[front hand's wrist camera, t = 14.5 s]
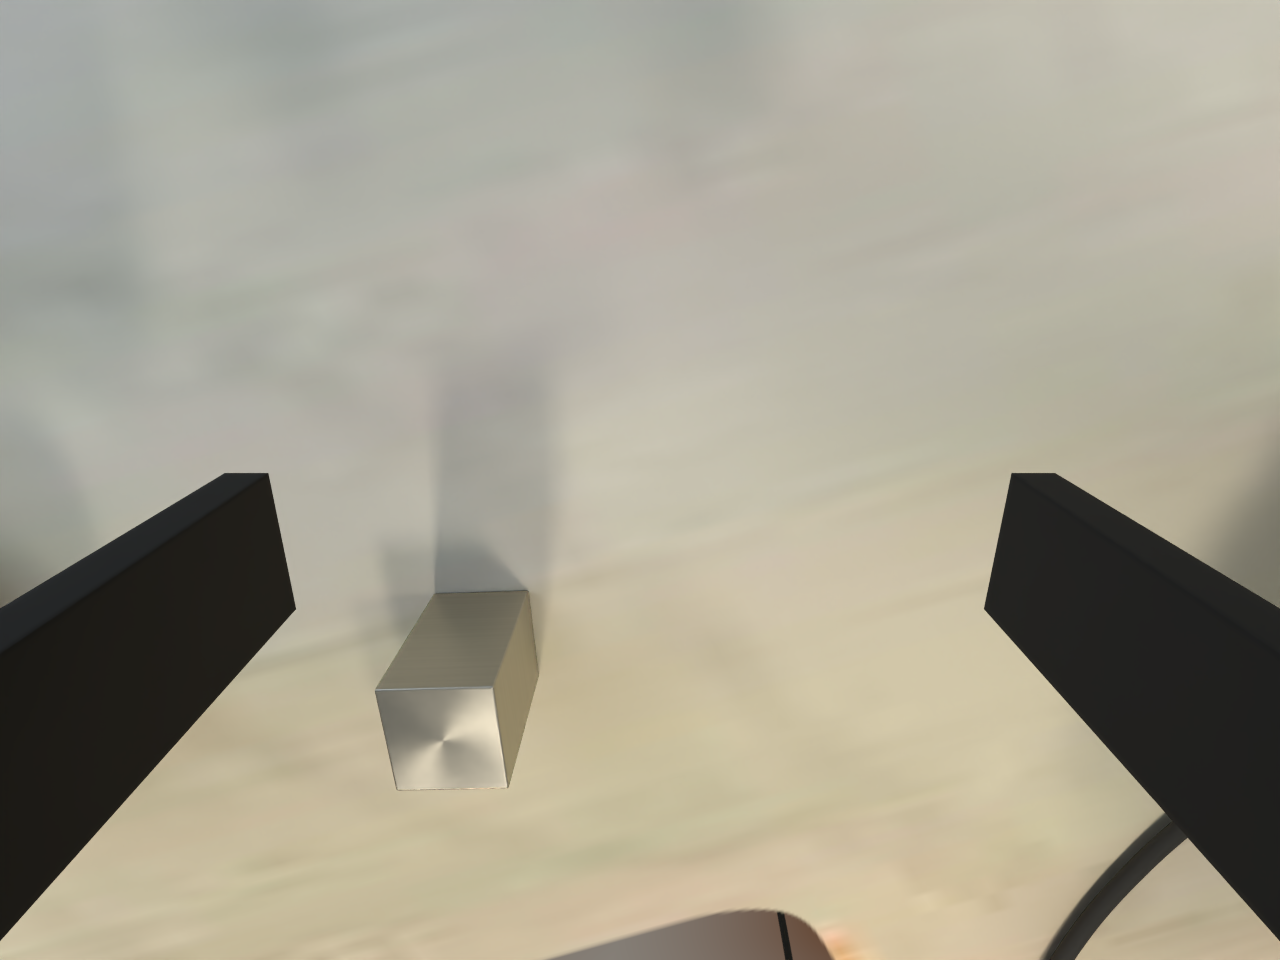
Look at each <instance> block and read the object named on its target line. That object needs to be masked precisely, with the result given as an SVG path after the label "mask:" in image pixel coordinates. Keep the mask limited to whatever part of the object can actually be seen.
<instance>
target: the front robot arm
mask: <svg viewBox="0 0 1280 960" xmlns="http://www.w3.org/2000/svg"><path fill="white" fill-rule="evenodd" d="M295 610H296V607H295V602H294V597H293V592H292V587H291V582H290V577H289V572H288V567H287V563H286V558H285V553H284V548H283V543H282V538H281V533H280V528H279V523H278V518H277V514H276V509H275V504H274V499H273V494H272V489H271V484H270V479H269V474H268V473H224V474H223V475H221V476H219V477H218V478H216V479H214V480H213V481H211V482H209V483H208V484H206V485H204V486H203V487H201V488H200V489H198V490H196V491H195V492H193V493H191V494H190V495H188V496H186V497H185V498H183V499H181V500H180V501H178V502H176V503H175V504H173V505H171V506H170V507H168V508H166V509H165V510H163V511H161V512H160V513H158V514H156V515H155V516H153V517H151V518H150V519H148V520H146V521H145V522H143V523H141V524H140V525H138V526H136V527H135V528H133V529H132V530H130V531H128V532H127V533H125V534H123V535H122V536H120V537H118V538H117V539H115V540H113V541H112V542H110V543H108V544H107V545H105V546H103V547H102V548H100V549H98V550H97V551H95V552H93V553H92V554H90V555H88V556H87V557H85V558H83V559H82V560H80V561H78V562H77V563H75V564H73V565H72V566H70V567H68V568H67V569H65V570H64V571H62V572H60V573H59V574H57V575H55V576H54V577H52V578H50V579H49V580H47V581H45V582H44V583H42V584H40V585H39V586H37V587H35V588H34V589H32V590H30V591H29V592H27V593H25V594H24V595H22V596H20V597H19V598H17V599H15V600H14V601H12V602H10V603H9V604H7V605H5V606H4V607H2V608H0V941H1V939H2V938H3V937H4V936H5V935H6V934H7V933H8V932H9V930H10V929H11V928H12V927H13V926H14V925H15V924H16V923H17V921H18V920H19V919H20V918H21V917H22V916H23V915H24V914H25V913H26V911H27V910H28V909H29V908H30V907H31V906H32V905H33V904H34V902H35V901H36V900H37V899H38V898H39V897H40V896H41V895H42V893H43V892H44V891H45V890H46V889H47V888H48V887H49V886H50V884H51V883H52V882H53V881H54V880H55V879H56V878H57V877H58V875H59V874H60V873H61V872H62V871H63V870H64V869H65V868H66V866H67V865H68V864H69V863H70V862H71V861H72V860H73V859H74V858H75V856H76V855H77V854H78V853H79V852H80V851H81V850H82V849H83V847H84V846H85V845H86V844H87V843H88V842H89V841H90V840H91V838H92V837H93V836H94V835H95V834H96V833H97V832H98V831H99V829H100V828H101V827H102V826H103V825H104V824H105V823H106V822H107V820H108V819H109V818H110V817H111V816H112V815H113V814H114V813H115V812H116V810H117V809H118V808H119V807H120V806H121V805H122V804H123V803H124V801H125V800H126V799H127V798H128V797H129V796H130V795H131V794H132V792H133V791H134V790H135V789H136V788H137V787H138V786H139V785H140V783H141V782H142V781H143V780H144V779H145V778H146V777H147V776H148V774H149V773H150V772H151V771H152V770H153V769H154V768H155V767H156V765H157V764H158V763H159V762H160V761H161V760H162V759H163V758H164V757H165V755H166V754H167V753H168V752H169V751H170V750H171V749H172V748H173V746H174V745H175V744H176V743H177V742H178V741H179V740H180V739H181V737H182V736H183V735H184V734H185V733H186V732H187V731H188V730H189V728H190V727H191V726H192V725H193V724H194V723H195V722H196V721H197V719H198V718H199V717H200V716H201V715H202V714H203V713H204V712H205V711H206V709H207V708H208V707H209V706H210V705H211V704H212V703H213V702H214V700H215V699H216V698H217V697H218V696H219V695H220V694H221V693H222V691H223V690H224V689H225V688H226V687H227V686H228V685H229V684H230V682H231V681H232V680H233V679H234V678H235V677H236V676H237V675H238V673H239V672H240V671H241V670H242V669H243V668H244V667H245V666H246V664H247V663H248V662H249V661H250V660H251V659H252V658H253V657H254V656H255V654H256V653H257V652H258V651H259V650H260V649H261V648H262V647H263V645H264V644H265V643H266V642H267V641H268V640H269V639H270V638H271V636H272V635H273V634H274V633H275V632H276V631H277V630H278V629H279V627H280V626H281V625H282V624H283V623H284V622H285V621H286V620H287V618H288V617H289V616H290V615H291V614H292V613H293V612H294V611H295ZM984 610H985V611H986V612H987V613H988V614H989V615H990V616H991V617H992V618H993V620H994V621H995V622H996V623H997V624H998V625H999V626H1000V627H1001V629H1002V630H1003V631H1004V632H1005V633H1006V634H1007V635H1008V636H1009V638H1010V639H1011V640H1012V641H1013V642H1014V643H1015V644H1016V645H1017V647H1018V648H1019V649H1020V650H1021V651H1022V652H1023V653H1024V654H1025V656H1026V657H1027V658H1028V659H1029V660H1030V661H1031V662H1032V663H1033V664H1034V666H1035V667H1036V668H1037V669H1038V670H1039V671H1040V672H1041V673H1042V675H1043V676H1044V677H1045V678H1046V679H1047V680H1048V681H1049V682H1050V684H1051V685H1052V686H1053V687H1054V688H1055V689H1056V690H1057V691H1058V693H1059V694H1060V695H1061V696H1062V697H1063V698H1064V699H1065V700H1066V702H1067V703H1068V704H1069V705H1070V706H1071V707H1072V708H1073V709H1074V711H1075V712H1076V713H1077V714H1078V715H1079V716H1080V717H1081V718H1082V719H1083V721H1084V722H1085V723H1086V724H1087V725H1088V726H1089V727H1090V728H1091V730H1092V731H1093V732H1094V733H1095V734H1096V735H1097V736H1098V737H1099V739H1100V740H1101V741H1102V742H1103V743H1104V744H1105V745H1106V746H1107V748H1108V749H1109V750H1110V751H1111V752H1112V753H1113V754H1114V755H1115V757H1116V758H1117V759H1118V760H1119V761H1120V762H1121V763H1122V764H1123V765H1124V767H1125V768H1126V769H1127V770H1128V771H1129V772H1130V773H1131V774H1132V776H1133V777H1134V778H1135V779H1136V780H1137V781H1138V782H1139V783H1140V785H1141V786H1142V787H1143V788H1144V789H1145V790H1146V791H1147V792H1148V794H1149V795H1150V796H1151V797H1152V798H1153V799H1154V800H1155V801H1156V803H1157V804H1158V805H1159V806H1160V807H1161V808H1162V809H1163V810H1164V812H1165V813H1166V814H1167V815H1168V816H1169V817H1170V818H1171V819H1172V820H1173V821H1172V822H1171V823H1170V824H1169V825H1168V826H1166V827H1165V828H1164V829H1163V830H1162V831H1161V832H1159V833H1158V834H1157V835H1156V836H1155V837H1154V838H1153V839H1152V840H1150V841H1149V842H1148V843H1147V844H1146V845H1145V846H1144V847H1143V848H1142V849H1141V850H1140V851H1139V852H1138V853H1137V854H1136V855H1135V856H1134V857H1133V858H1132V859H1131V860H1130V861H1129V862H1128V863H1127V864H1126V865H1125V866H1124V867H1123V868H1122V869H1121V870H1120V871H1119V872H1118V873H1117V874H1116V875H1115V876H1114V877H1113V878H1112V879H1111V880H1110V882H1109V883H1108V884H1107V885H1106V886H1105V887H1104V888H1103V889H1102V890H1101V891H1100V892H1099V894H1098V895H1097V896H1096V897H1095V898H1094V899H1093V901H1092V902H1091V903H1090V904H1089V905H1088V907H1087V908H1086V909H1085V910H1084V912H1083V913H1082V914H1081V915H1080V917H1079V918H1078V919H1077V921H1076V922H1075V923H1074V925H1073V926H1072V927H1071V929H1070V930H1069V932H1068V933H1067V934H1066V936H1065V937H1064V939H1063V940H1062V942H1061V943H1060V945H1059V946H1058V948H1057V949H1056V951H1055V952H1054V954H1053V955H1052V957H1051V959H1050V960H1075V958H1076V957H1077V955H1078V954H1079V953H1080V951H1081V950H1082V948H1083V947H1084V946H1085V944H1086V943H1087V941H1088V940H1089V939H1090V937H1091V936H1092V935H1093V933H1094V932H1095V931H1096V930H1097V928H1098V927H1099V926H1100V925H1101V923H1102V922H1103V921H1104V920H1105V918H1106V917H1107V916H1108V915H1109V914H1110V913H1111V911H1112V910H1113V909H1114V908H1115V907H1116V906H1117V905H1118V904H1119V903H1120V902H1121V900H1122V899H1123V898H1124V897H1125V896H1126V895H1127V894H1128V893H1129V892H1130V891H1131V890H1132V889H1133V888H1134V887H1135V886H1136V885H1137V884H1138V883H1139V882H1140V881H1141V880H1142V879H1143V878H1144V877H1145V876H1146V875H1147V874H1148V873H1149V872H1150V871H1151V870H1152V869H1153V868H1154V867H1155V866H1156V865H1157V864H1158V863H1159V862H1160V861H1161V860H1163V859H1164V858H1165V857H1166V856H1167V855H1168V854H1169V853H1170V852H1171V851H1173V850H1174V849H1175V848H1176V847H1177V846H1178V845H1180V844H1181V843H1182V842H1183V841H1184V840H1186V839H1187V838H1189V840H1190V841H1191V842H1192V843H1193V844H1194V845H1195V846H1196V847H1197V849H1198V850H1199V851H1200V852H1201V853H1202V854H1203V855H1204V856H1205V858H1206V859H1207V860H1208V861H1209V862H1210V863H1211V864H1212V865H1213V866H1214V868H1215V869H1216V870H1217V871H1218V872H1219V873H1220V874H1221V875H1222V877H1223V878H1224V879H1225V880H1226V881H1227V882H1228V883H1229V884H1230V886H1231V887H1232V888H1233V889H1234V890H1235V891H1236V892H1237V893H1238V895H1239V896H1240V897H1241V898H1242V899H1243V900H1244V901H1245V902H1246V904H1247V905H1248V906H1249V907H1250V908H1251V909H1252V910H1253V911H1254V913H1255V914H1256V915H1257V916H1258V917H1259V918H1260V919H1261V920H1262V921H1263V923H1264V924H1265V925H1266V926H1267V927H1268V928H1269V929H1270V930H1271V932H1272V933H1273V934H1274V935H1275V936H1276V937H1277V938H1278V939H1279V941H1280V609H1279V608H1278V607H1276V606H1275V605H1273V604H1271V603H1270V602H1268V601H1266V600H1265V599H1263V598H1261V597H1260V596H1258V595H1256V594H1255V593H1253V592H1251V591H1250V590H1248V589H1246V588H1245V587H1243V586H1241V585H1240V584H1238V583H1236V582H1235V581H1233V580H1231V579H1230V578H1228V577H1226V576H1225V575H1223V574H1221V573H1220V572H1218V571H1216V570H1215V569H1213V568H1211V567H1210V566H1208V565H1207V564H1205V563H1203V562H1202V561H1200V560H1198V559H1197V558H1195V557H1193V556H1192V555H1190V554H1188V553H1187V552H1185V551H1183V550H1182V549H1180V548H1178V547H1177V546H1175V545H1173V544H1172V543H1170V542H1168V541H1167V540H1165V539H1163V538H1162V537H1160V536H1158V535H1157V534H1155V533H1153V532H1152V531H1150V530H1148V529H1147V528H1145V527H1144V526H1142V525H1140V524H1139V523H1137V522H1135V521H1134V520H1132V519H1130V518H1129V517H1127V516H1125V515H1124V514H1122V513H1120V512H1119V511H1117V510H1115V509H1114V508H1112V507H1110V506H1109V505H1107V504H1105V503H1104V502H1102V501H1100V500H1099V499H1097V498H1095V497H1094V496H1092V495H1090V494H1089V493H1087V492H1085V491H1084V490H1082V489H1080V488H1079V487H1077V486H1076V485H1074V484H1072V483H1071V482H1069V481H1067V480H1066V479H1064V478H1062V477H1061V476H1059V475H1057V474H1056V473H1012V474H1011V479H1010V484H1009V489H1008V494H1007V499H1006V504H1005V509H1004V514H1003V518H1002V523H1001V528H1000V533H999V538H998V543H997V548H996V553H995V558H994V563H993V567H992V572H991V577H990V582H989V587H988V592H987V597H986V602H985V607H984ZM777 916H778V921H779V927H780V932H781V938H782V944H783V950H784V956H785V960H793V957H792V952H791V946H790V941H789V935H788V930H787V925H786V919H785V914H784V912H782V911H777Z"/></svg>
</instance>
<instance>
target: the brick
mask: <svg viewBox="0 0 1280 960" xmlns="http://www.w3.org/2000/svg"><path fill="white" fill-rule="evenodd" d="M538 677H539V674H538V666H537V658H536V649H535V641H534V633H533V625H532V616H531V608H530V600H529V592H528V591H506V592H475V593H444V594H434V595H433V597H432V598H431V600H430V602H429V603H428V605H427V607H426V608H425V610H424V611H423V613H422V615H421V616H420V618H419V619H418V621H417V623H416V624H415V626H414V628H413V629H412V631H411V632H410V634H409V636H408V637H407V639H406V640H405V642H404V644H403V645H402V647H401V649H400V650H399V652H398V653H397V655H396V657H395V658H394V660H393V661H392V663H391V665H390V666H389V668H388V670H387V671H386V673H385V674H384V676H383V678H382V679H381V681H380V683H379V684H378V686H377V687H376V689H375V694H376V698H377V703H378V707H379V712H380V716H381V721H382V726H383V730H384V735H385V739H386V744H387V748H388V753H389V757H390V762H391V766H392V771H393V775H394V780H395V785H396V789H397V790H445V789H495V788H508V787H509V784H510V780H511V777H512V773H513V769H514V766H515V762H516V758H517V754H518V751H519V747H520V743H521V740H522V736H523V732H524V729H525V725H526V721H527V717H528V714H529V710H530V706H531V703H532V699H533V695H534V692H535V688H536V684H537V680H538Z"/></svg>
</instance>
